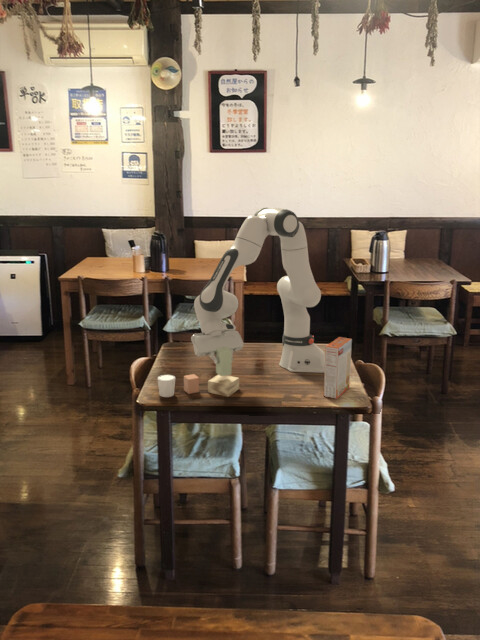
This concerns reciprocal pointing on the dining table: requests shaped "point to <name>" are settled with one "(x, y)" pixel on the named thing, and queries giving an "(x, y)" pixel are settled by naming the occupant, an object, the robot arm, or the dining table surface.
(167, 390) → the shot glass
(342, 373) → the cracker box
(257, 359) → the dining table surface
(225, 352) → the sage block
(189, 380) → the terracotta block
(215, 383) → the beech base
